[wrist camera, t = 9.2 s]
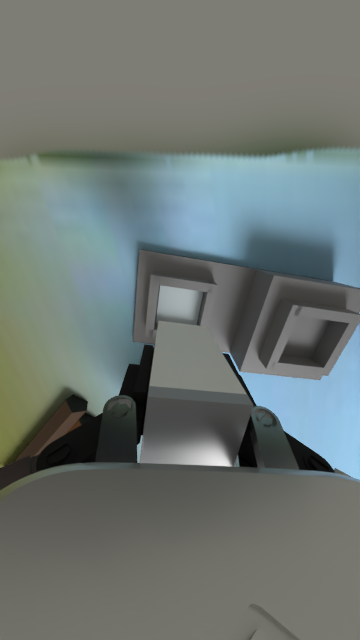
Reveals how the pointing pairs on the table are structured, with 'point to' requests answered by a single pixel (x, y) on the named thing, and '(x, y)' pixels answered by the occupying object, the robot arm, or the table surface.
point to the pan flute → (58, 425)
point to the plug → (192, 401)
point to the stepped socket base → (249, 312)
